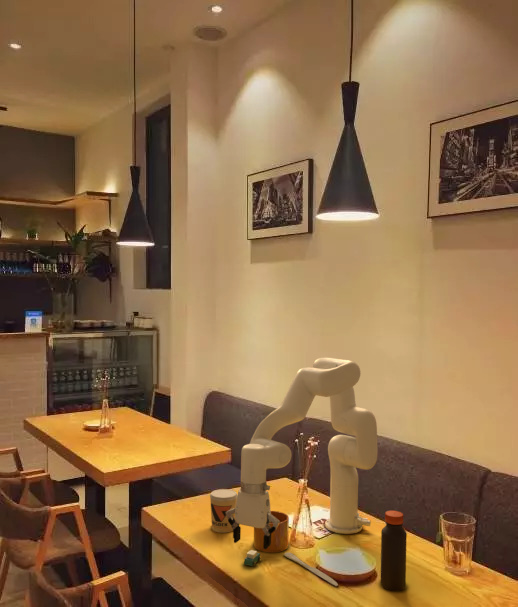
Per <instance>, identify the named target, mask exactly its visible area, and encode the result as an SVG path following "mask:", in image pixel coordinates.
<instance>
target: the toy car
mask: <svg viewBox="0 0 518 607" xmlns="http://www.w3.org/2000/svg"><path fill="white" fill-rule="evenodd" d="M261 559H262V557H261V553H260V552H258V551H257V550H253V549H250V550H249V551H248V552H247V553H246V557H245V558H244V560H243V565H245V566H250V567H253V568H255V567H256V566H257V564H256V563H257V562H258V563H260V562H261Z"/></svg>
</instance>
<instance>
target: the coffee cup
mask: <svg viewBox="0 0 518 607" xmlns="http://www.w3.org/2000/svg"><path fill="white" fill-rule="evenodd" d="M237 495H238V492H237V491H235V490H234V489H228V488H219V489H215V490H212V491H211V493H210V495H209V499H210V517H211V518H210V519H211V520H210V521H211V529H212V531H213V532H215V533H221V534H223V533H225V534H226V533H230V532H233V529H232V526H231V525H230V523H229V522H228V518H227V516H226V512H227V511H229V510H231V509H234V508H236V500H237ZM232 517H233V518H234V519H235V513H234V514H232Z"/></svg>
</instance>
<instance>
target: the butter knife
mask: <svg viewBox="0 0 518 607" xmlns="http://www.w3.org/2000/svg"><path fill="white" fill-rule="evenodd" d="M283 556H284V557H286V558H287V559H289V560H291V561H292V562H295V563H296V564H298V565H301V566H302V567H303V568H305V569H307V570H309V571H310V572H311V573H313V574H315V575H317V576H318V577H320V578H322V579H323V580H325V581H326V582H328V583H330V584H331V585H333V586H335V587H337V586H339V584H338V582H337V581H336V580H334V579H333V578H332V577H330V576H329V575H328V574H326V573H324V572H322V571H321V570H319V569H318V568H316V567H313V566H310V565H308V564H307V563H305V562H304V561H302V560H301V559H300V558H299V557H297V556H296V555H295V554H294V553H292V552H289V551H288V552H285V553H284V554H283Z"/></svg>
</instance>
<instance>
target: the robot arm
mask: <svg viewBox="0 0 518 607" xmlns="http://www.w3.org/2000/svg"><path fill="white" fill-rule="evenodd" d="M360 378H361V368H360V366H359V365H358V364H357V363H356V362H355V361H353V360H348V359H340V358H335V357H318V358H317V359H315V360H314V362H313V364H312V367H309V366H308V367H302V368H300V369H298V370H297V372H296V374H295V375H294V378H293V380H292V381H291V383H290V385H289V387H288V389H287V392H286V393H285V396H284V398H283V399H282V402H281V404H280V405H279V406H278V407H277V408H276V409H274V410H273V411H272V412H270V413H269V414H268V415H267V416H265V417H264V419H262V420H261V421H260V423H259V424H258V426H256V429H255V431H254V433H253V435H252V436H251V439H250V442H249V443H247V444H245V445H243V446H242V448H241V453H240V456H241V458H240V461H241V462H240V488H239V490H238V492H237V500H236V508H234V509H231V510H229V511H227V512H226V516H227V518H228V522H229V523H230V525H231V526H232V529H233V531H232V539H233V543H234V544H236V543H238V542H239V541H240V540H241V532H242V531H241V530H242V528H241V526H240V525H242V526H246V527H250V528H254V527H256V528H262V530H263V531H264V533H265V535H264V543H263V548H264V549H267V548H268V547H269V546H270V545H271V533H272V532H274V531H275V530H276V529H277V527H278V525H279V523H280V521H279V520H278V519H277V518H275V517H274V516H273V515H272V514H271V511H272V509H271V499H270V494H269V491H270V489H271V485H268V484H267V482H268V481H267V470H269V469H282V468H284V467H286V466H287V465H288V464H290V462H291V461H292V450H291V448H290V447H289V445H287V444H285V443H283V442H279V441H276V440H273V439H272V438H274V436H275V434H276V433H278V431H279V430H281V429H282V428H284V427H286V426H289V425H294V424H296V423H298V422H302V421H303V420H304V419H305V418H306V417H307V414H308V412H309V410H310V408H311V405H312V403H313V402H314V400H315V397H316V396H317V397H324V398H329V404H330V405H329V406H330V407H329V408H330V423H331V427H332V428H333V430H334V431H336V432H338V433H341V434H337V435H334V436H333V437H331V438H330V440H329V442H328V446H327V455H328V459H329V467H330V468H329V469H330V480H329V481H330V483H329V484H330V488H329V491H330V492H329V518H328V519H326V520H325V522H324V526H325V528H326V529H327V531H330V532H333V533H335V534H341V535H350V534H357V533H359V532H361V531H362V528H363V526H365V527H371V526H372V525H371V524H372V523H371V522H372V521H371V520H370V519H369V518H368V517H362V516H360V512H359V510H358V509H359V472H358V470H357V469H360V470H371V469H373V467H375V465H376V464H377V461H378V453H379V452H378V450H379V449H378V448H379V447H378V425H377V424H378V423H377V420H376V417H375V414H374V413H373V412H372V411H371V410H369V409H367V408H364V407H358V406H357V404H356V395H355V389H354V386H356V385H357V383H358V382H359V380H360ZM345 434H346V435H345ZM234 513H235V519H234V518H233V517H232V514H234ZM270 522H273V526H272V528H271V527H270V525H269V523H270Z"/></svg>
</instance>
